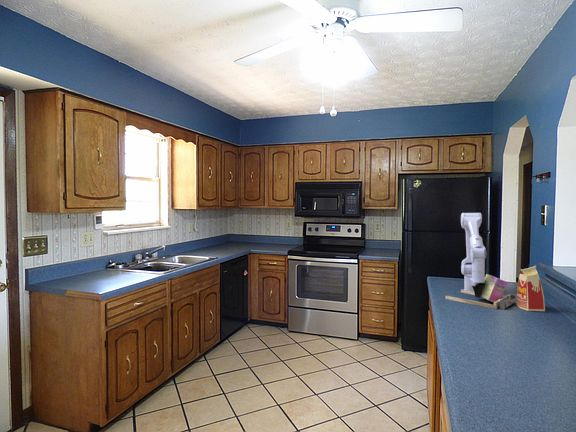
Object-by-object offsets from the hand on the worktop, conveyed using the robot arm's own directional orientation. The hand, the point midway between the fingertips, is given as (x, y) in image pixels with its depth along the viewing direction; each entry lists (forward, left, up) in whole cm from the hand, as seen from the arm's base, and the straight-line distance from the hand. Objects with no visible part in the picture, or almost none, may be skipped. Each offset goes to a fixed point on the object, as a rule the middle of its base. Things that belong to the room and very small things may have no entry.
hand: (478, 297), depth 179 cm
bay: (0, +1, -1) cm, 2 cm away
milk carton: (-3, +22, -2) cm, 22 cm away
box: (-1, +5, -1) cm, 5 cm away
